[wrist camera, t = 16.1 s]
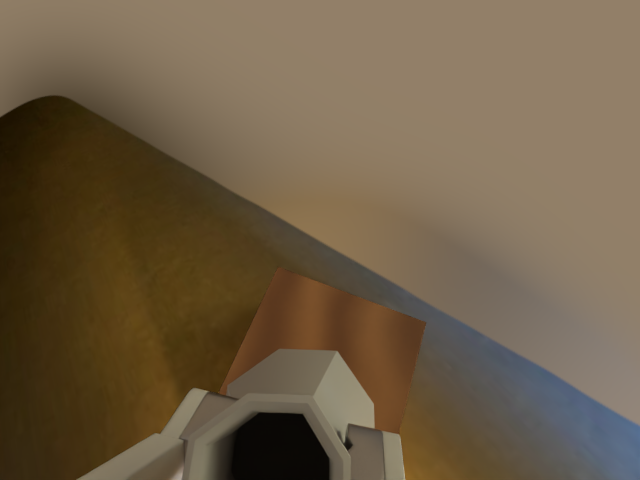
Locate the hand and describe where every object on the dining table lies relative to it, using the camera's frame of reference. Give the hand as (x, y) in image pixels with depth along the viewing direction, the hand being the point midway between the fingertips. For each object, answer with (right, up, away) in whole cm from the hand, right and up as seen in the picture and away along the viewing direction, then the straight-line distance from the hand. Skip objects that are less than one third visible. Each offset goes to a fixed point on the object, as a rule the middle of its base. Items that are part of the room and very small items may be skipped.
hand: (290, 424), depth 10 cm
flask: (0, -3, +5) cm, 6 cm away
